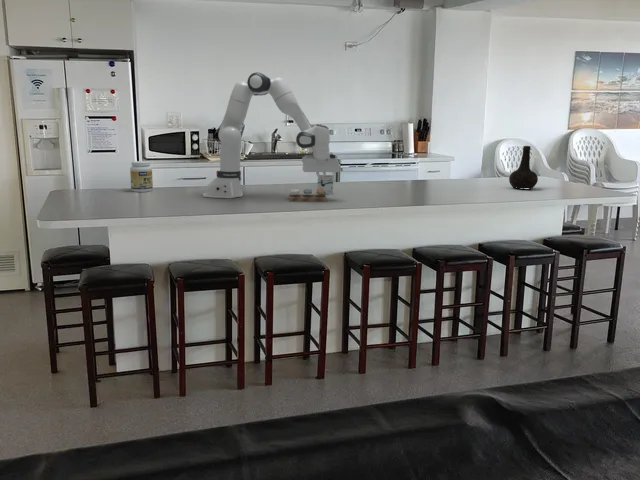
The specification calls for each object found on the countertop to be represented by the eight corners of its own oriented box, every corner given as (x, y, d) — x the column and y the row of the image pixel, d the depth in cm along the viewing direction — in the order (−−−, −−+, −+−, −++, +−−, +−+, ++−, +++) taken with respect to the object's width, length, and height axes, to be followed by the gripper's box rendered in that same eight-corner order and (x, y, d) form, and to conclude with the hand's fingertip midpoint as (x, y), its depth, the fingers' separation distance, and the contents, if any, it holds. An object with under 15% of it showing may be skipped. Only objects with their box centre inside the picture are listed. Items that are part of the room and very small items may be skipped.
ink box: (319, 194, 352) (319, 174, 350) (316, 193, 357) (317, 173, 354) (333, 194, 355) (333, 174, 352) (331, 193, 359) (331, 173, 357)
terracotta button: (316, 193, 331) (316, 190, 330) (316, 192, 335) (316, 189, 335) (324, 193, 331) (324, 190, 331) (323, 192, 336) (323, 189, 335)
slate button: (304, 193, 330) (304, 190, 330) (303, 192, 334) (303, 188, 334) (312, 193, 331) (312, 190, 330) (311, 192, 335) (311, 189, 334)
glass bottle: (508, 189, 389) (512, 146, 382) (508, 186, 406) (512, 144, 399) (537, 191, 384) (542, 147, 377) (536, 187, 401) (540, 145, 394)
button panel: (290, 201, 327) (290, 197, 326) (289, 197, 338) (289, 193, 338) (326, 201, 329) (326, 197, 328) (324, 198, 340) (324, 194, 340)
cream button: (291, 193, 330) (291, 190, 329) (290, 192, 334) (290, 188, 333) (299, 193, 330) (299, 190, 330) (298, 192, 334) (298, 188, 334)
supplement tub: (139, 193, 343) (138, 163, 339) (126, 190, 350) (125, 161, 346) (157, 190, 353) (156, 161, 349) (144, 188, 360) (143, 160, 356)
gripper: (302, 155, 324) (302, 180, 328) (340, 155, 326) (339, 181, 330) (301, 154, 331) (301, 179, 334) (338, 154, 333) (338, 179, 336)
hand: (320, 180), depth 332 cm, fingers closed
